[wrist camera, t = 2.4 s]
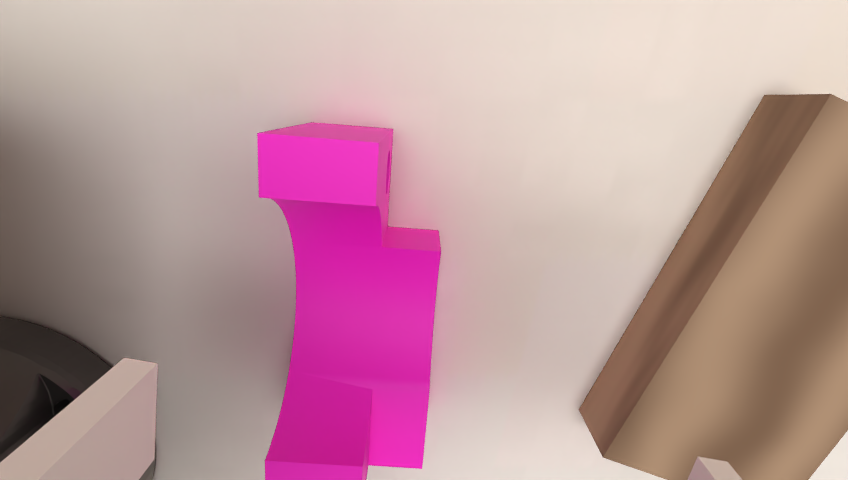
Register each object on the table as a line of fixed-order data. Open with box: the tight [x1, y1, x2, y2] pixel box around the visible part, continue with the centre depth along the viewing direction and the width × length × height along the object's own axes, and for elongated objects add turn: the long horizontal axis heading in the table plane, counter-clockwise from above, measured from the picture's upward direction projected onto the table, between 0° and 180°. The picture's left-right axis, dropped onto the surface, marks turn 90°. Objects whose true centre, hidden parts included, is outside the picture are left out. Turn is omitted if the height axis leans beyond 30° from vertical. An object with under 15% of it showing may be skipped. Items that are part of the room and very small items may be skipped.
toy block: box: [257, 122, 441, 480], centre depth 20 cm, size 15×6×8 cm, turn 175°
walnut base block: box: [579, 94, 848, 480], centre depth 22 cm, size 10×18×4 cm, turn 158°
